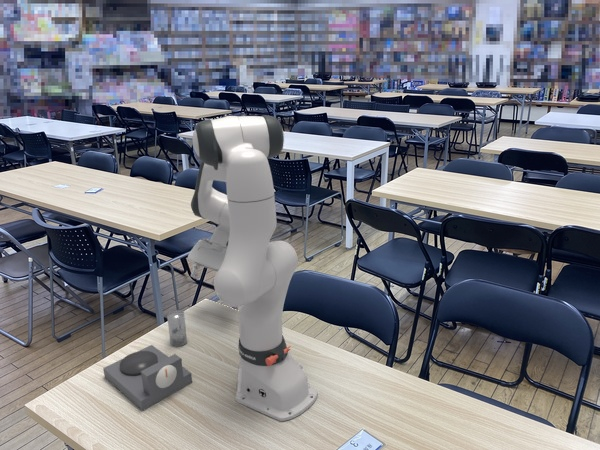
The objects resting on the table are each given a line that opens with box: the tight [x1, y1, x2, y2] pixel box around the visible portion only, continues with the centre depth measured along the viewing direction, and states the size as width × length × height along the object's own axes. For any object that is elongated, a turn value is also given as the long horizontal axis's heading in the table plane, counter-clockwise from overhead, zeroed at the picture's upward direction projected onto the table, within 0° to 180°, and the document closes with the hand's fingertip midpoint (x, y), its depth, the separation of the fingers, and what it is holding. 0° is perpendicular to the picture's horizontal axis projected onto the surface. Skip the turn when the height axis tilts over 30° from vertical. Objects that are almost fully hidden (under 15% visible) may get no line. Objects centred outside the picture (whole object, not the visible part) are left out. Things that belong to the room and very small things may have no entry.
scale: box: [102, 344, 193, 412], centre depth 130 cm, size 20×15×9 cm
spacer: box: [166, 309, 188, 348], centre depth 147 cm, size 5×5×10 cm
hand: (203, 281), depth 152 cm, fingers open, 8 cm apart
